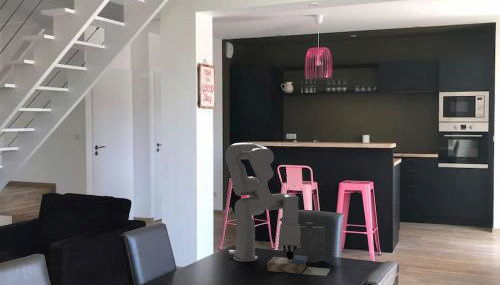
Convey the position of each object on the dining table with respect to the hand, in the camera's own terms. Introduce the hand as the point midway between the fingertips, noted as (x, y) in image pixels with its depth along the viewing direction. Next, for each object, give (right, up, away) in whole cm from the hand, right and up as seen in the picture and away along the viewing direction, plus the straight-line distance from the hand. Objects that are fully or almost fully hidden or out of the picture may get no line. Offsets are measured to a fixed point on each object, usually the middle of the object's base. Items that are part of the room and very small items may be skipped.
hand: (290, 259), depth 258 cm
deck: (-1, -5, +1) cm, 5 cm away
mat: (+12, -5, -4) cm, 14 cm away
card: (+5, -1, -1) cm, 5 cm away
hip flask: (+11, -5, +17) cm, 20 cm away
